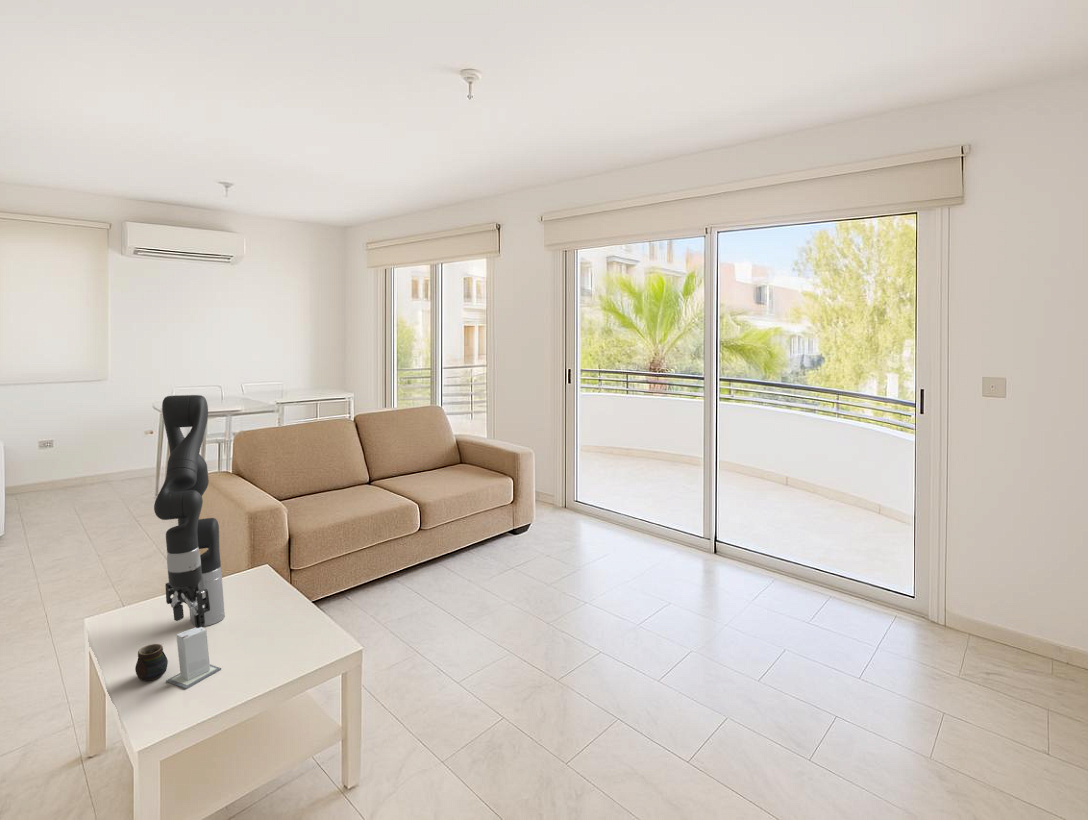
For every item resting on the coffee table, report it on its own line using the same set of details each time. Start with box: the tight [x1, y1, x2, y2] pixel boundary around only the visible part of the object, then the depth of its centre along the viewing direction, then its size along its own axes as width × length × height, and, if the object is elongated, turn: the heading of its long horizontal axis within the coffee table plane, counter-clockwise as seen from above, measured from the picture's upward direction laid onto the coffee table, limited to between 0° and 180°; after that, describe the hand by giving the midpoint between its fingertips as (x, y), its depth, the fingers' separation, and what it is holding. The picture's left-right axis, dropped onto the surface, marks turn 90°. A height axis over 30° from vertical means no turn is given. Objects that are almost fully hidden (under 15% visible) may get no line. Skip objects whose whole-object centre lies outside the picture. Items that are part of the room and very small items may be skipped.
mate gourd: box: [134, 643, 169, 682], centre depth 159 cm, size 7×8×10 cm
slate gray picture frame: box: [165, 663, 222, 690], centre depth 160 cm, size 8×10×1 cm
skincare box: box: [175, 626, 211, 680], centre depth 159 cm, size 6×4×12 cm
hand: (189, 623), depth 158 cm, fingers open, 8 cm apart
